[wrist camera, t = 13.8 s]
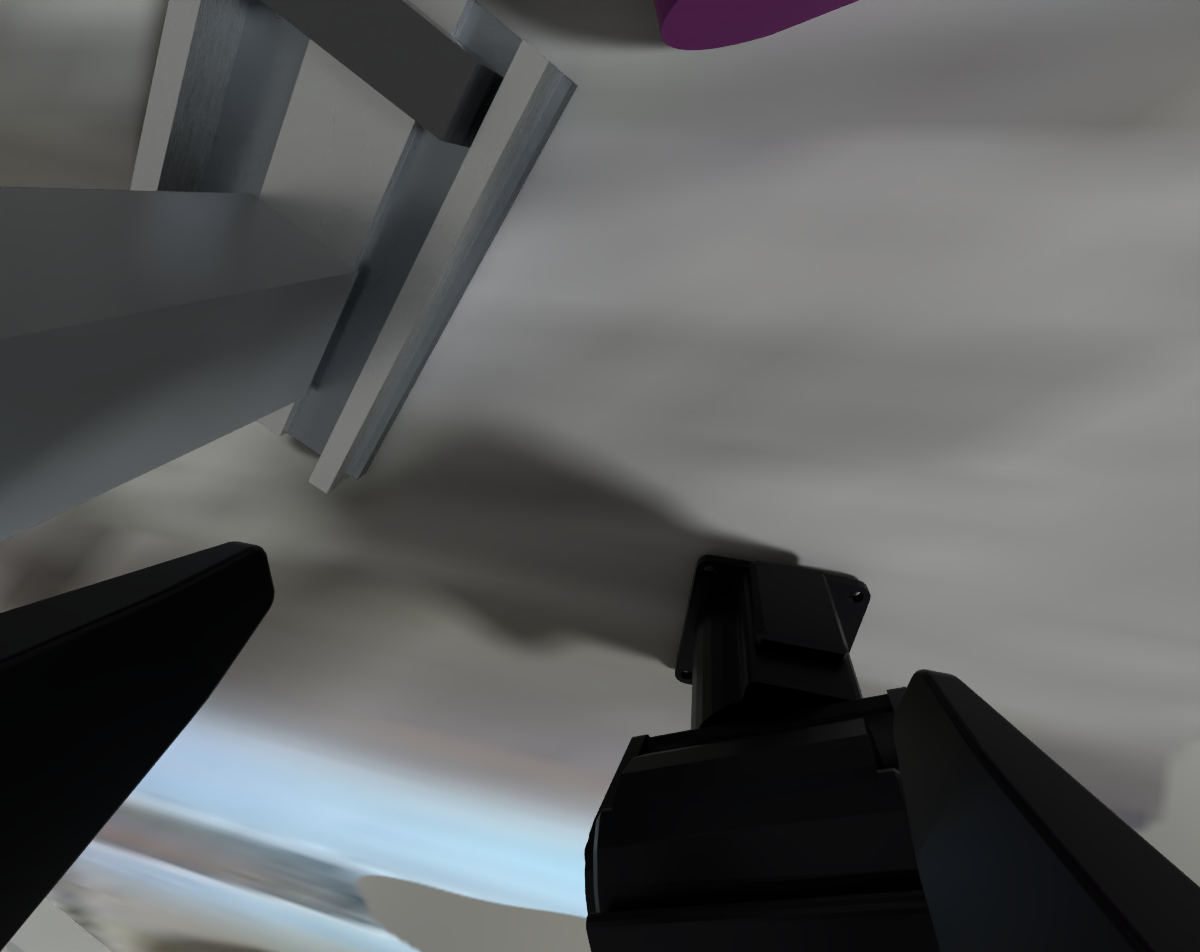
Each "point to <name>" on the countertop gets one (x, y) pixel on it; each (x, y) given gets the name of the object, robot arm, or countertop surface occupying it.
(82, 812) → the robot arm
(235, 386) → the block
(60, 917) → the pizza boxes
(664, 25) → the mounting bracket
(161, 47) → the rail plate
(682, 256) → the countertop surface
